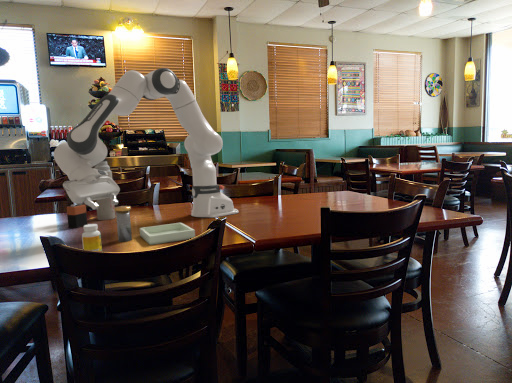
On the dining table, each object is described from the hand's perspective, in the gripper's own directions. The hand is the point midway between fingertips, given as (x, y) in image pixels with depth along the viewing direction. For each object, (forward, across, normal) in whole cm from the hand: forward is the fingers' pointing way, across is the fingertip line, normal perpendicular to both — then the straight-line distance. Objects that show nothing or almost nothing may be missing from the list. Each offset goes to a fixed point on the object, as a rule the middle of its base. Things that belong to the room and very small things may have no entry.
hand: (106, 206), depth 138 cm
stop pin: (+14, 0, +3) cm, 14 cm away
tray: (+22, +8, -5) cm, 25 cm away
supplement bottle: (+17, -18, 0) cm, 25 cm away
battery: (-13, +12, +30) cm, 35 cm away
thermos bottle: (-14, +30, +32) cm, 46 cm away
